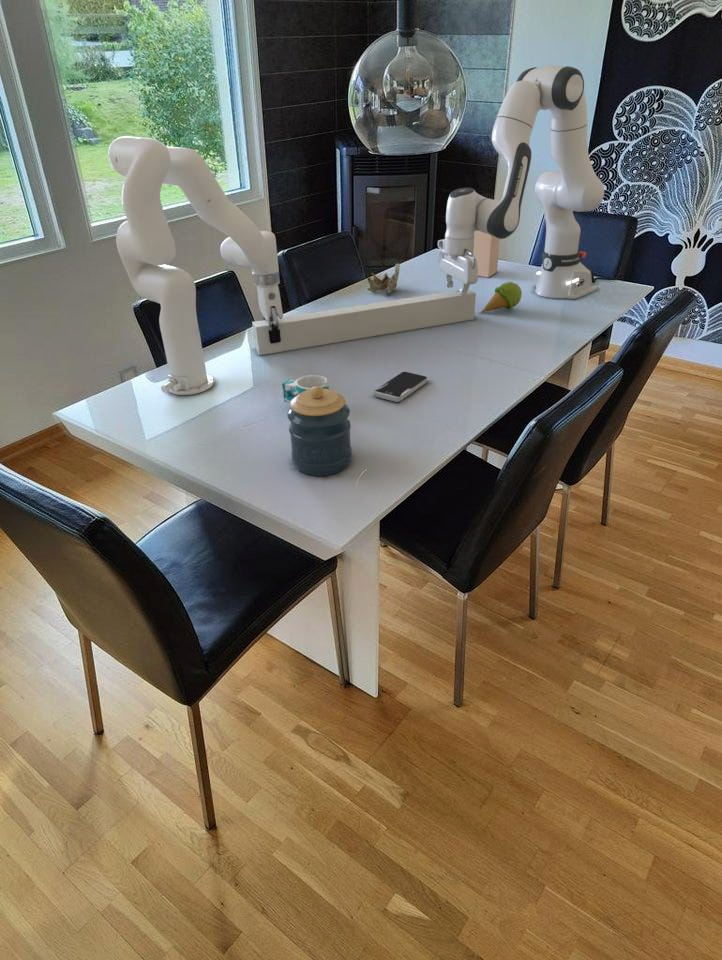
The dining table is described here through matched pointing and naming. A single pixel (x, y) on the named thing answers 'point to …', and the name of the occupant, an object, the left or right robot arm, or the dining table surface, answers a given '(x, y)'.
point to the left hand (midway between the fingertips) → (273, 338)
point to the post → (365, 321)
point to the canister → (320, 432)
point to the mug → (302, 386)
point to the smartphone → (400, 386)
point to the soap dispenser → (486, 253)
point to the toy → (504, 297)
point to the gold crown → (384, 281)
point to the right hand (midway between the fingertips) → (456, 291)
